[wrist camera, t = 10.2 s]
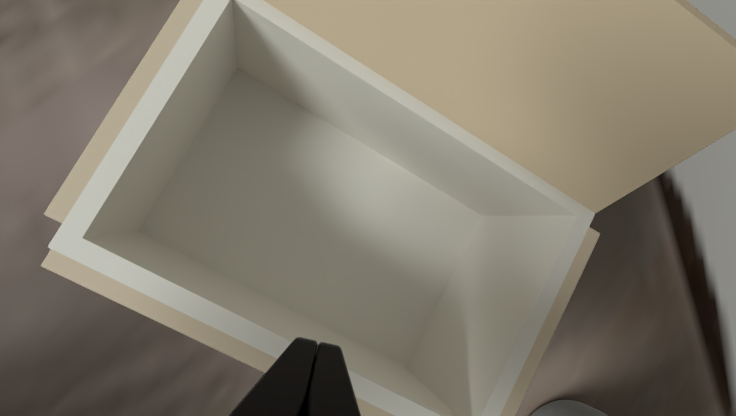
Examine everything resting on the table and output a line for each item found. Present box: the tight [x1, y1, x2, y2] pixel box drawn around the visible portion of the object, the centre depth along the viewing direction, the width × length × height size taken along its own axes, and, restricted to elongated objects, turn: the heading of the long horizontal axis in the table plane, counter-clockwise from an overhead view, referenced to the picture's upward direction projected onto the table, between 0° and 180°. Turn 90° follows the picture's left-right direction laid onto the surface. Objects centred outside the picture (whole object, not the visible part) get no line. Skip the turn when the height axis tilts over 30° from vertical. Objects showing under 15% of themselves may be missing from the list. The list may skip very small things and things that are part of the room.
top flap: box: [264, 0, 736, 213], centre depth 13 cm, size 6×14×1 cm
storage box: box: [41, 0, 600, 416], centre depth 18 cm, size 10×15×8 cm, turn 61°
